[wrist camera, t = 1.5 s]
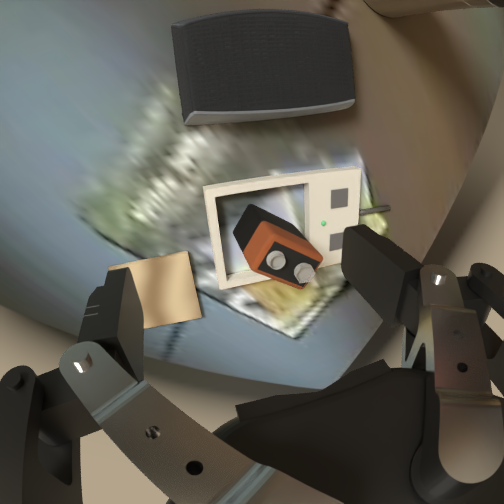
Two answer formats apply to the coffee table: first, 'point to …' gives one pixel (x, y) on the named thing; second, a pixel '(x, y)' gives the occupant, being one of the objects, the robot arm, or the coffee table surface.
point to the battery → (276, 248)
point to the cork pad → (165, 288)
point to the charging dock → (316, 213)
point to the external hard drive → (262, 66)
